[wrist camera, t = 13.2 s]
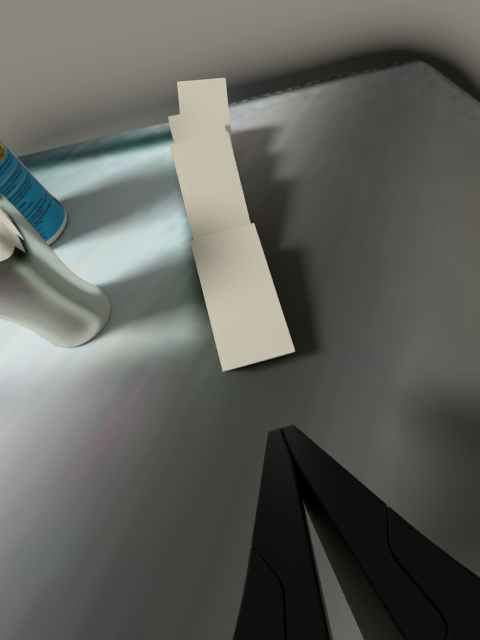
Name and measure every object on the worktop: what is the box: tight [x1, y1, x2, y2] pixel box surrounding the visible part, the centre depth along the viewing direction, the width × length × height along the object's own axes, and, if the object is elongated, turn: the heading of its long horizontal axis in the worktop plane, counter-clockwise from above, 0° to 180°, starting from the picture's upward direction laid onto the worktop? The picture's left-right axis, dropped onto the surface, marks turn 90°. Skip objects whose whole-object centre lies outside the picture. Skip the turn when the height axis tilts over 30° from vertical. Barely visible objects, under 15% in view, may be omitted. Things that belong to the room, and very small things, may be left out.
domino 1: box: [190, 223, 295, 372], centre depth 18 cm, size 2×5×10 cm
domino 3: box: [168, 105, 226, 144], centre depth 23 cm, size 2×5×10 cm
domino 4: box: [177, 78, 232, 145], centre depth 26 cm, size 2×5×10 cm
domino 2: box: [170, 131, 251, 239], centre depth 21 cm, size 2×5×10 cm
